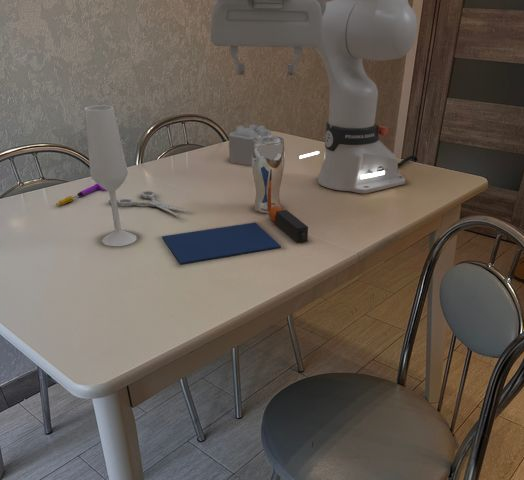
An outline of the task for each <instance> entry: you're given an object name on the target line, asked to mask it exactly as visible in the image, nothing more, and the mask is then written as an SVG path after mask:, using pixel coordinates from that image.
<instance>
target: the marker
mask: <svg viewBox="0 0 524 480" xmlns="http://www.w3.org/2000/svg"><path fill="white" fill-rule="evenodd" d="M268 216H269V218H270V219H271V220H272V221H273V222H274V223H275V226H276V227H277V228H278V229H280V230H281V231H282V232H283V233H284V234H286V235H287V236H288V237H289V238H290V239H291V240H292V241H294V242H295V243H296V244H299V243H303V242H308V236H309V235H308V234H309V233H308V232H309V226H308V225H307V224H305V223H304V222H303V221H301V220H300V218H298V217H297V216H295V215H294V214H292V213H291V212H290V211H289V210H287V209H283V208H282V207H281V208H280V207H279V206H274V207H272V208H271V209H270V211H269V213H268Z"/></svg>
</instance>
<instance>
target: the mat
mask: <svg viewBox="0 0 524 480" xmlns="http://www.w3.org/2000/svg"><path fill="white" fill-rule="evenodd" d="M161 238H162V240H163V241H164V243H165V244H166V246H167V247H168V249H169V250H170V252H171V253H172V255H173V256H174V258H175V260H176V261H177V262H178V264H179V265H186V264H193V263H199V262H204V261H210V260H211V261H212V260H217V259H223V258H227V257H228V258H229V257H234V256H240V255H246V254H252V253H258V252H263V251H264V252H265V251H270V250H271V251H272V250H275V249H282V245H281V244H279V243H278V241H277V240H275V239H274V238H273V237H272V236H271V235H270V234H269V233H267V231H266V230H265V229H263V228H262V227H261V226H260V225H259V224H258V223H256V222H248V223H242V224H235V225H227V226H221V227H216V228H210V229H202V230H196V231H189V232H188V231H187V232H182V233H175V234H169V235H162V236H161Z"/></svg>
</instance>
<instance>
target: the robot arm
mask: <svg viewBox="0 0 524 480" xmlns="http://www.w3.org/2000/svg"><path fill="white" fill-rule="evenodd" d="M418 25H419V24H418V19H417V16H416V13H415V11H414V8H412V7H411V6H410V3H409V0H328V1H327V0H215V2H214V3H213V6H212V11H211V20H210V42H211V43H212V44H213V45H214V47H215V46H216V47H230V48H229V51H230V53H229V54H230V55H231V57H232V59H233V61H234V63H235V67H236V70H235V71H236V75H241V76H242V75H245V62H241V61H240V60H239V58H238V56H237V54H239V47H252V48H253V47H254V48H255V47H256V48H258V47H259V48H260V47H262V48H293V54H294V55H295V56H294V58H293V60H292V61H291V63H286V76H296V66H297V64H298V63H299V61H300V59H301V57H302V56H303V48H305V49H307V48H312V49H314V50H315V51H316V52H317V54H318V55H319V57H320V59H321V61H322V63H323V65H324V68H325V72H326V75H327V79H328V89H329V102H328V121H327V122H326V123H325V135H324V147H325V148H324V154H323V159H322V164H321V168H320V171H319V174H318V177H317V180H316V181H317V183H318V184H319V185H320V186H322V187H325V188H327V189H331V190H335V191H344V192H351V193H352V192H353V193H356V194H368V193H372V192H373V193H374V192H377V191H381V190H386V189H389V188H395V187H398V186H402V185H406V178H405V176H404V175H402V174H400V173H399V167H402V166H403V165H404V164H405V163H407V162H408V161H411V160H413V161H415V162H417V161H419V160H418V159H419V158H417V156H416V155H409V156H407V157H406V158H404V159H402V160H401V161H400V162H398V158H397V156H396V155H395V153H393V151H391V150H390V149H389V148H388V147H387V146H386V145H385V144H384V143H383V142H382V141H381V140H380V136H382V137H386V136H387V135H388V134H389V129H388V127H387V126H384V125H380V126H379V125H378V124H376V117H377V116H376V114H377V106H378V98H379V90H378V87H377V84H376V83H375V82H374V81H373V80H372V79H371V78H370V77H369V76H368V75H367V73H366V70H365V68H364V64H363V60H369V61H370V60H371V61H379V62H384V61H391V60H392V61H393V60H397V59H401V58H404V57H405V56H406V55H407V54H408V53H409V52H410V51H411V49H412V48H413V46H414V44H415V42H416V39H417V35H418V27H419V26H418ZM379 135H380V136H379ZM319 154H320V151H318V150H316V151H313V152H310V153H305V154H301V155H299V160H301V159H305V158H308V157H312V156H316V155H319Z"/></svg>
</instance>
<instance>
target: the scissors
mask: <svg viewBox="0 0 524 480" xmlns="http://www.w3.org/2000/svg"><path fill="white" fill-rule="evenodd" d="M140 196H141V198H142V199H149V200H151V201H135V200H133V199H132V198H120V199H117V206H120V207H131V206H138V207H140V206H141V207H142V206H147V207H154V208H155V207H157V208H158V209H160V210H163V211H165V212H167V213H169V214H171V215H174V216H175V217H179V218H181V216H180V215H179V214H177V213H175V211H172V210H170V209H173V210H181V211H185V212H190V210H189V209H186V208H181V207H177V206H173V205H169V204H163V203H162V202H161V201H158V200H156V195H155V192H154V191H152V190H144V191H142V192H141V193H140ZM108 204H110V205H111V202H110V199H109V200H108Z"/></svg>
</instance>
